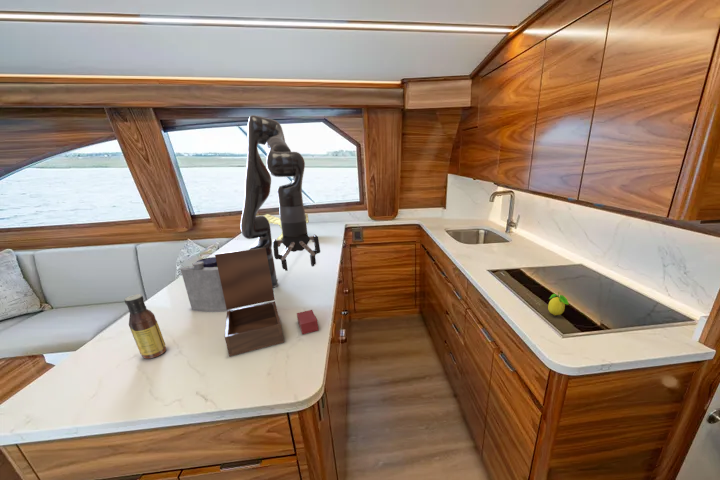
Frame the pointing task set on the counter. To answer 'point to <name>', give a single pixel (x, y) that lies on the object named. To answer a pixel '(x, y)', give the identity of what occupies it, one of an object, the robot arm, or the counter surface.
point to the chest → (252, 328)
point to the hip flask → (203, 287)
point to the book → (307, 321)
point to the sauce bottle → (144, 328)
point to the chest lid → (245, 277)
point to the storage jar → (209, 262)
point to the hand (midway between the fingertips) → (299, 267)
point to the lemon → (557, 304)
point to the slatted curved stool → (279, 222)
